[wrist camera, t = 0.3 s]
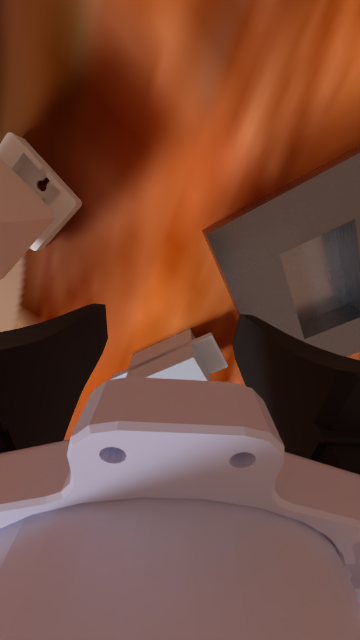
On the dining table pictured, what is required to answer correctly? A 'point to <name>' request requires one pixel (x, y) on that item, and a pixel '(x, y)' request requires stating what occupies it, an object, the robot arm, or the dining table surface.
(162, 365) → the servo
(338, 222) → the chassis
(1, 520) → the robot arm
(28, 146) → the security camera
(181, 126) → the dining table surface
